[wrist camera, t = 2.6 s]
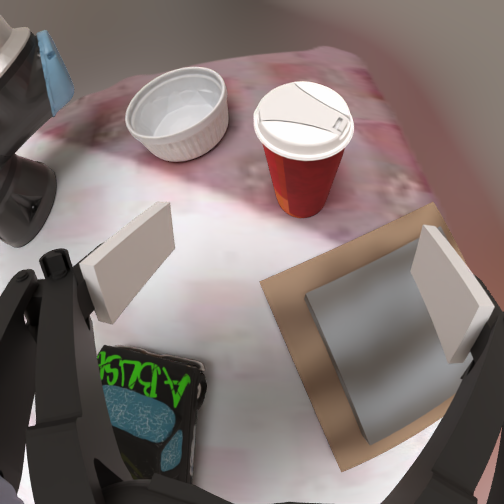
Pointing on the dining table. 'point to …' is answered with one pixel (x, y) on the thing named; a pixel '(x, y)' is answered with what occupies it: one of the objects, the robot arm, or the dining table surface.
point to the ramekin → (180, 113)
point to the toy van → (152, 409)
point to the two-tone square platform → (367, 339)
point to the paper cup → (303, 143)
